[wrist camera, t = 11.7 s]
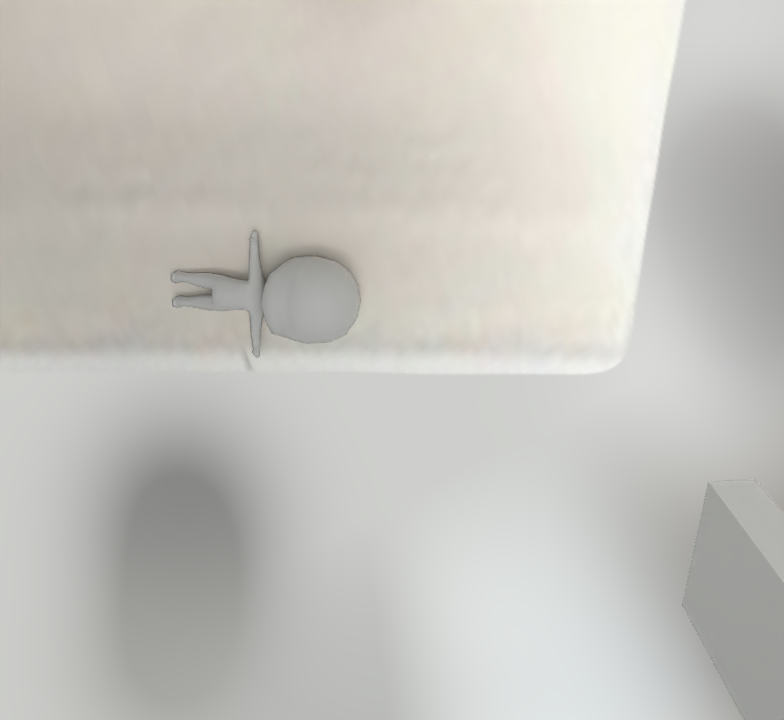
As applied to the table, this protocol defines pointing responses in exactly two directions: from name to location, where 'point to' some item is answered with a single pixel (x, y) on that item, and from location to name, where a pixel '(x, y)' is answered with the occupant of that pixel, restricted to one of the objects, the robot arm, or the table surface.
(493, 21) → the table surface
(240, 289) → the figurine
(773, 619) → the robot arm
